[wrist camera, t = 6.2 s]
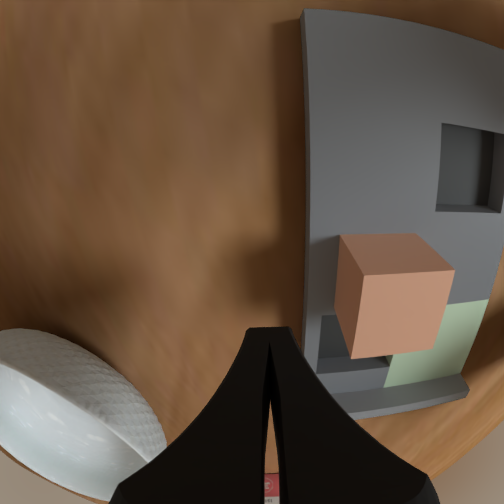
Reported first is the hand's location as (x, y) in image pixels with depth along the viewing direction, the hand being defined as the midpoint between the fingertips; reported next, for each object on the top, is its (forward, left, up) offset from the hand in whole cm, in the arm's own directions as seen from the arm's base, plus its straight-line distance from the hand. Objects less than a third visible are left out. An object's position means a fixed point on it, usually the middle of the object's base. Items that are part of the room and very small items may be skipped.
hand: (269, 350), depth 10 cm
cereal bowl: (+15, +11, -8) cm, 20 cm away
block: (-5, 0, -6) cm, 8 cm away
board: (-8, -1, -7) cm, 11 cm away
